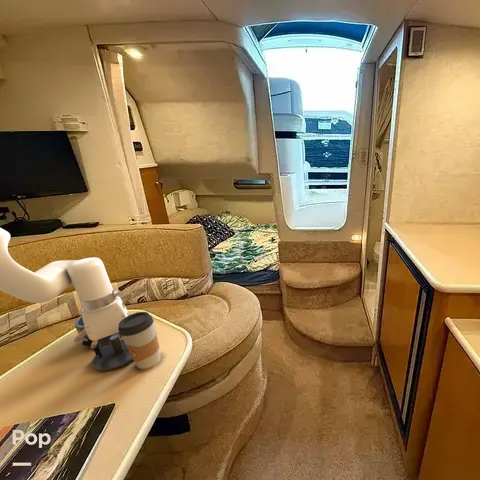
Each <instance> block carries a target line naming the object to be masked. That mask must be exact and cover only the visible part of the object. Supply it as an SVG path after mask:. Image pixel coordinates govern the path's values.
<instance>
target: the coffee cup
mask: <svg viewBox="0 0 480 480" xmlns="http://www.w3.org/2000/svg"><path fill="white" fill-rule="evenodd" d="M130 314H131V315H129V316H127V317H125V318H124V319H122V320H121V321H120V323H119V327H118V330H119V334H120V335H121V336H122V338H121V339H123V340H124V342H125V345H126V347H127V349H128V351H129V353H130V355H131V357H132V359H133V360H132V361H133V362H134V364H135V366H136V367H137V368H138V369H140V370H147V369H150V368H152V367H154V366H156V365H157V364H158V363H159V361H160V360H161V357H162V353H161V348H160V344H159V339H158V334H157V331H156V328H155V324H154V318H153V316H152V315H151V314H150V313H149V312H147V311H138V312H135V313H130Z"/></svg>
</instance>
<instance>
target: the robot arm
mask: <svg viewBox="0 0 480 480" xmlns="http://www.w3.org/2000/svg"><path fill="white" fill-rule="evenodd" d="M11 238H12V237H11V233H10V232H9V231H7V230H5V229H3V228H2V227H0V291H1V292H3V293H5V294H8V295H10V296H12V297H14V298H17V299H19V300H22V301H25V302H28V303H33V304H44V303H48V302H50V301H52V300H54V299H56V298H57V297H58V296H60V295H61V294H62V293H63V292H64V291H65V290H67V289H68V288H70V287H71V286H73V287H74V290H75V292H76V295H77V297H78V299H79V301H80V304H81V306H82V308H81V316H82V319H83V323H84V326H85V329H84V330H83V331H82V332H80V333H79V334H78V333H77V334H78V335H76V336H75V337H74V340H73V341H74V342H75V343H77V344H79V345H82V346H83V347H85V346H88V347H91V348H93V349H92V350H93V351H94V354H95V356H96V355H99V357H100V358H102V357H103V354H104V351H103V348H104V347H102V346H101V344H100V342H99V341H98V340H99V339H101V338H104V337H107V336H110V335H113V334H116V333H119V330H118V327H119V323H120V321H121V320H122V319H124V318H125V317H127V316H129V315H131V314H132V313H129V311H128V309H127V307H126V305H125V303H124V302H123V300H122V298H121V297H120V296H121V295H122V292H121V290H115V289H114V288H113V286H112V283H111V280H110V277H109V275H108V273H107V270H106V267H105V264H104V262H103V260H101V259H102V258H99V257H95V256H93V257H85V258H82V259H76V260H74V259H73V260H72V259H70V260H67V259H65V260H54V261H51V262H49V263H48V264H46V265H44V266H43V267H41V268H39V269H37V270H36V271H32V270H30V269H28V268H26V267H24V266H23V265H21V264H19V263H17V261H15V260H14V259H13V257H11V255H10V253H9V250H8V246H9V243H10V242H11V241H10V240H11ZM86 334H87V335H88V338H89V339H85V338H83V337H84V336H85V335H86Z"/></svg>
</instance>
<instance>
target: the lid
mask: <svg viewBox="0 0 480 480" xmlns="http://www.w3.org/2000/svg"><path fill="white" fill-rule="evenodd" d="M109 340H110V342H111V344H110V345H108V346H105V347H102V348H103V351H104V354H103V357H102V358H100V357H99V355H96V354H95V355H94V357H93V359H92V361H91V365H92V368H93V369H94V370H95V371H100V372H104V371H105V372H107V371H112V370H115V369H118V368H121V367H123V366H125V365H127V364H129V363H130V362H132V361H133V359H132V357H131V355H130V353H129V351H128V349H127V347H126V345H125V342H124V340H123V338H121V339H120V337H119V335H114V336H112V337H110V339H109Z"/></svg>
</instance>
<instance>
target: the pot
mask: <svg viewBox="0 0 480 480" xmlns="http://www.w3.org/2000/svg"><path fill="white" fill-rule="evenodd" d="M74 327H75V329H76V332H77V334H79V333H80V332H82V331H83V330H84V329H85V326H84V323H83V319H82V315H80V316H79V317H78V318H76V320H75V321H74ZM114 335H119V337H120V339H123V338H122V336H121V335H120V334H119V333H116V334H113V335H110V336H107V337H104V338H101V339H99V340H98V341H99V342H100V344H101V346H102V348H105V347H106V346H108V345H110V344H111V342H110V340H109V339H110V337H112V336H114ZM83 338H85V339H89V338H88V335H87V334H86V335H85V336H84V337H83ZM84 348H86V349H89V350H94V349H93V348H91V347H88V346H84Z"/></svg>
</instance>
